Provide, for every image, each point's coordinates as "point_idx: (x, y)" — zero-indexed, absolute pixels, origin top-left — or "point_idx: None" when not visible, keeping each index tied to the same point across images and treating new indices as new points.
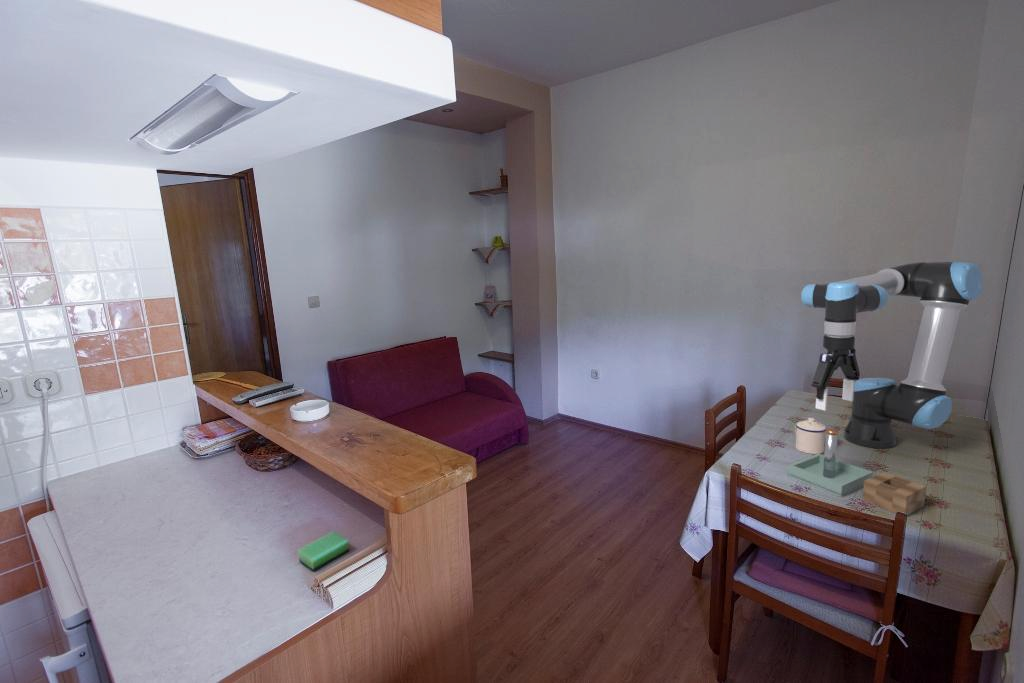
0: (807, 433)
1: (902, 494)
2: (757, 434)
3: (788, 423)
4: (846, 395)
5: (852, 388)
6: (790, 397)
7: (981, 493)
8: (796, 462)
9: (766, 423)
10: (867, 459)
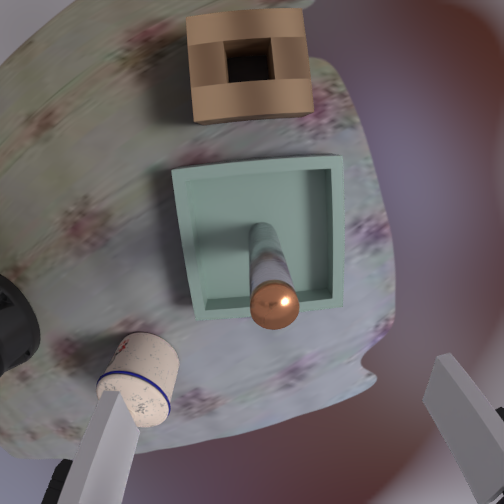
0: (164, 387)
1: (301, 18)
2: (192, 438)
3: None
4: (123, 442)
5: (89, 472)
6: (28, 457)
7: (34, 50)
8: (306, 308)
9: None
10: (70, 261)
